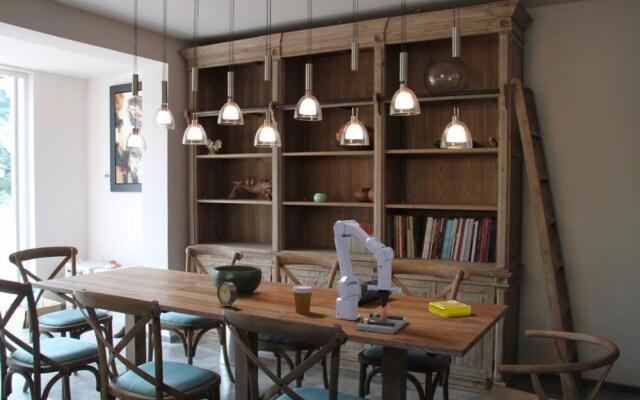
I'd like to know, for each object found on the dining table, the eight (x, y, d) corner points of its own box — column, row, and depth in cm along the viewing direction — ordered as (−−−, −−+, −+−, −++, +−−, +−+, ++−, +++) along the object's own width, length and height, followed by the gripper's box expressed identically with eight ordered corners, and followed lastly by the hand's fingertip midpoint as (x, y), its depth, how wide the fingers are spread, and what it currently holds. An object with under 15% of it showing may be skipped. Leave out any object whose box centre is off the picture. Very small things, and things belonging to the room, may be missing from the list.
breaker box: (355, 329, 240) (355, 320, 240) (372, 318, 260) (372, 309, 260) (392, 334, 233) (392, 324, 233) (407, 322, 253) (407, 313, 253)
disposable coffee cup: (289, 311, 274) (289, 285, 274) (308, 309, 278) (308, 284, 278) (296, 315, 266) (296, 289, 265) (315, 313, 269) (316, 287, 269)
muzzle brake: (387, 298, 307) (387, 278, 307) (361, 307, 284) (362, 286, 283) (371, 296, 312) (371, 276, 312) (345, 305, 289) (345, 284, 288)
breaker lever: (378, 320, 244) (384, 307, 243) (382, 318, 249) (387, 304, 248) (381, 321, 244) (386, 308, 243) (384, 319, 249) (390, 306, 247)
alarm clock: (216, 305, 286) (216, 272, 285) (225, 303, 290) (225, 271, 289) (230, 308, 278) (230, 275, 278) (239, 307, 282) (239, 274, 282)
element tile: (427, 311, 277) (427, 301, 277) (454, 308, 282) (454, 299, 282) (444, 318, 263) (444, 307, 263) (472, 315, 268) (472, 305, 268)
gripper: (365, 276, 245) (364, 308, 245) (398, 278, 239) (398, 311, 239) (370, 273, 251) (370, 304, 252) (403, 276, 245) (402, 308, 246)
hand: (384, 307), depth 246 cm, fingers closed, pressing on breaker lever
